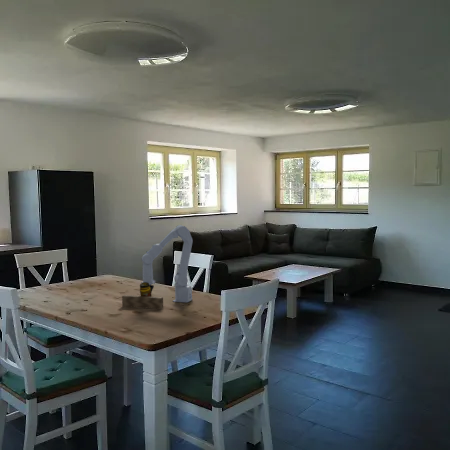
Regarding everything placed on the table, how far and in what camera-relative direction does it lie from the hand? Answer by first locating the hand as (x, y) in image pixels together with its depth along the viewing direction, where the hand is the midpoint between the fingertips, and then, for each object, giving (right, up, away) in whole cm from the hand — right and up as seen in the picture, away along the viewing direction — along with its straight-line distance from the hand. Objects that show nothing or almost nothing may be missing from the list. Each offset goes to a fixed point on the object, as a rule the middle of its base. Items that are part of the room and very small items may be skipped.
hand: (148, 298), depth 254 cm
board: (-2, -4, -9) cm, 10 cm away
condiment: (-1, -2, -2) cm, 3 cm away
